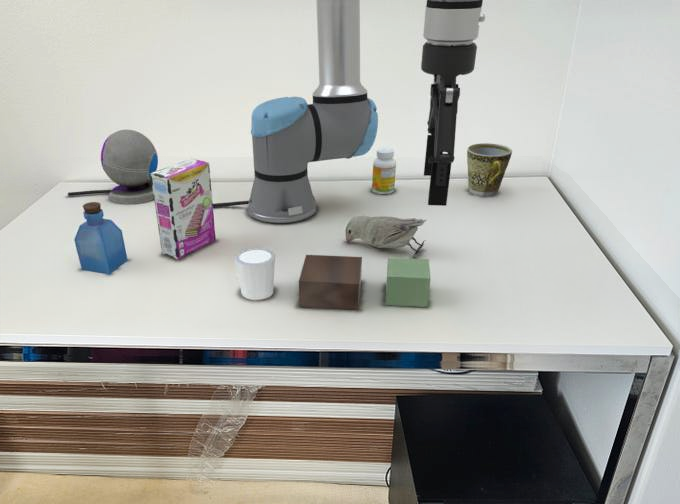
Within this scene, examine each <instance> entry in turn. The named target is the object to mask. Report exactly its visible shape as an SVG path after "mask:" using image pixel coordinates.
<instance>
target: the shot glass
mask: <svg viewBox="0 0 680 504" xmlns="http://www.w3.org/2000/svg"><path fill="white" fill-rule="evenodd" d="M234 260H235V261H234V262H235V265H236V270H237V276H238V281H239V287H240V292H241V295H242V296H243V297H244V298H245V299H247V300H250V301H251V300H252V301H261V300H265V299H268V298H271V296H272V295H273V294H274V286H275V284H274V282H275V265H276V264H275V262H276V254H275V253H274V252H273V251H272V250H270V249H266V248H261V247H252V248H247V249H244V250H241V251H239V252H237V253H236V255H235V257H234Z"/></svg>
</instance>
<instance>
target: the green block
mask: <svg viewBox="0 0 680 504" xmlns="http://www.w3.org/2000/svg"><path fill="white" fill-rule="evenodd" d="M430 267H431V266H430V259H426V258H425V259H423V258H405V257H404V258H403V257H402V258H401V257H387V268H386V281H385V306H395V307H396V306H397V307H414V308H415V307H416V308H417V307H418V308H427V307H428V304H429V296H430V295H429V294H430V286H431V278H432V277H431V269H430Z"/></svg>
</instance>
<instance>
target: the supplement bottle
mask: <svg viewBox="0 0 680 504" xmlns="http://www.w3.org/2000/svg"><path fill="white" fill-rule="evenodd" d="M394 157H395V150H394V149H393V148H391V147H380V148H377V150H376V158H375V159H374V160H373V163H372V179H371V183H372V184H371V191H372V192H373V193H374V194H378V195H389V194H392V193H394V191H395V185H396V172H397V171H396V170H397V161H396V160H395V158H394Z"/></svg>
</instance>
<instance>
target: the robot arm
mask: <svg viewBox="0 0 680 504" xmlns="http://www.w3.org/2000/svg"><path fill="white" fill-rule="evenodd" d="M315 1H316V28H317V55H318V56H317V57H318V79H319V80H318V82H319V83H318V86H317V87H316V89H315V90H313V92H312V103H307V100H306V99H305V98H304V97H301V96H284V97H276V98H273V99H269V100H266V101H263V102H262V103H260V104H258V105H257V106H256V107H254V109H253V110H252V113H251V127H250V135H251V141H252V154H253V171H254V179H253V184H252V187H251V191H250V195H249V196H250V197H249V199H248V200H239V201H237V200H236V201H229V202H216V203H213V208H219V207H222V208H223V207H232V206H233V207H234V206H245V205H248V214H249V216H250V217H252V218H253V219H255V220H257V221H260V222H263V223H267V224H268V223H269V224H291V223H297V222H302V221H304V220H307V219H309V218H311V217H313V216H314V215H315V213H316V212H317V202H316V198H315V196H314V193H313V189H312V185H311V183H310V180H309V176H308V172H309V171H308V165H309V163H315V162H322V161H331V160H332V161H333V160H339V159H347V160H349V159H352V158H356V157H361V156H364V155H366V154H367V153H368V152H370V151H371V149H372V147H373V145H374V144H375V141H376V138H377V134H378V128H379V115H378V112H377V110H378V108H377V105H376V103H375V101H374V100H373V99H371V98H369V97H368V89H366V87H365V86H364V85H363V84H362V83H361V0H315ZM483 2H484V1H483V0H426V5H425V13H424V21H423V22H424V24H423V34H422V37H423V38H424V39H425V40H426V42H424V44H423V45H422V50H421V51H422V52H421V61H420V63H421V65H420V69H421V71H422V72H423V73H425V74H427V75H431V76H433V83H431V84H430V100H429V101H430V102H429V113H428V120H427V123H426V124H427V127H428V128H427V137H426V147H425V157H424V169H423V176H424V177H425V176H426V177H428V176H429V177H430V179H429V188H428V198H427V206H438V207H439V206H443V207H444V206H445V207H446V206H447V205H448V204H447V202H448V195H449V186H450V180H451V179H450V178H451V169H452V164H453V163H454V161H455V145H456V130H457V115H458V107H459V106H458V105H459V102H458V101H459V99H460V96H461V87H459V84H458V83H457V77H459V76H466V75H470V74H472V73H473V71H474V70H475V65H476V57H477V51H478V50H477V49H478V46H477V43H476V42H474V41H476V40H477V39H478V38H479V32H480V25H479V23H484V22H485V20H486V15H485V13H482V7H483ZM111 190H112V189H95V190H83V191H82V190H81V191H71V192H70V191H69V192H67V196H68V197H72V196H73V197H74V196H84V195H97V194H110V192H111Z"/></svg>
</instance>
